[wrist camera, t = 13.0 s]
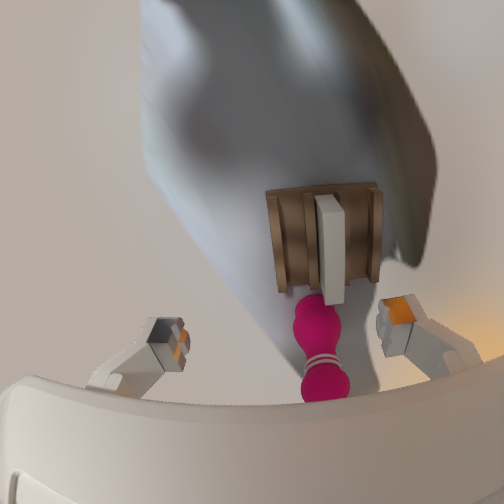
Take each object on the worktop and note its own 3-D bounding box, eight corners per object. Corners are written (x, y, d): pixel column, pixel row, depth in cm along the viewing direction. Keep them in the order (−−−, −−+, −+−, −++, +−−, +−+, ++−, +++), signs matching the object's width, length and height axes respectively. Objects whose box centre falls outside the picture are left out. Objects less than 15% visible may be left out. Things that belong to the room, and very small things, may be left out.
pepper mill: (295, 329, 47) (300, 433, 29) (288, 295, 44) (291, 404, 26) (337, 321, 46) (358, 423, 28) (334, 287, 43) (361, 393, 25)
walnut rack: (265, 190, 37) (264, 198, 33) (374, 181, 35) (384, 188, 31) (277, 281, 43) (277, 295, 40) (372, 271, 41) (379, 284, 38)
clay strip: (314, 195, 35) (322, 213, 29) (332, 194, 35) (344, 211, 29) (318, 276, 40) (325, 305, 34) (334, 274, 40) (343, 303, 34)
